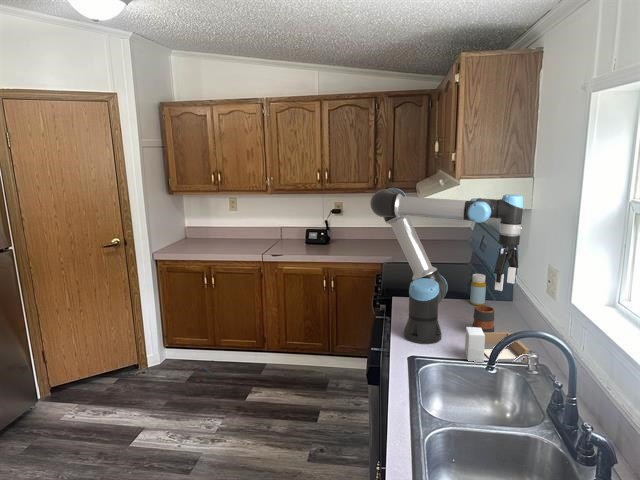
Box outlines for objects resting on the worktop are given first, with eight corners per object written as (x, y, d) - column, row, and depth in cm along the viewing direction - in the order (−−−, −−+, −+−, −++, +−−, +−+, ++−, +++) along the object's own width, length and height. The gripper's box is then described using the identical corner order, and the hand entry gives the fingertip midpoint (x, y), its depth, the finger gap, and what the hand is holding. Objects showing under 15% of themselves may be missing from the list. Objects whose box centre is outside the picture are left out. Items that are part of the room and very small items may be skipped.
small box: (483, 363, 153) (485, 335, 151) (467, 362, 154) (468, 334, 152) (480, 353, 160) (481, 327, 158) (464, 352, 161) (465, 326, 160)
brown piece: (492, 363, 153) (493, 350, 152) (475, 344, 168) (476, 332, 167) (528, 362, 153) (529, 349, 152) (508, 343, 168) (509, 332, 168)
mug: (494, 330, 182) (496, 304, 180) (493, 340, 172) (495, 313, 170) (473, 327, 186) (474, 301, 184) (471, 337, 175) (472, 310, 173)
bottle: (483, 307, 212) (484, 277, 209) (468, 304, 215) (470, 275, 212) (486, 303, 217) (487, 274, 215) (471, 300, 221) (473, 272, 218)
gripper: (508, 239, 155) (503, 295, 159) (529, 231, 173) (524, 281, 177) (487, 237, 160) (483, 291, 164) (510, 229, 178) (506, 278, 182)
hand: (504, 286), depth 171 cm, fingers open, 13 cm apart
